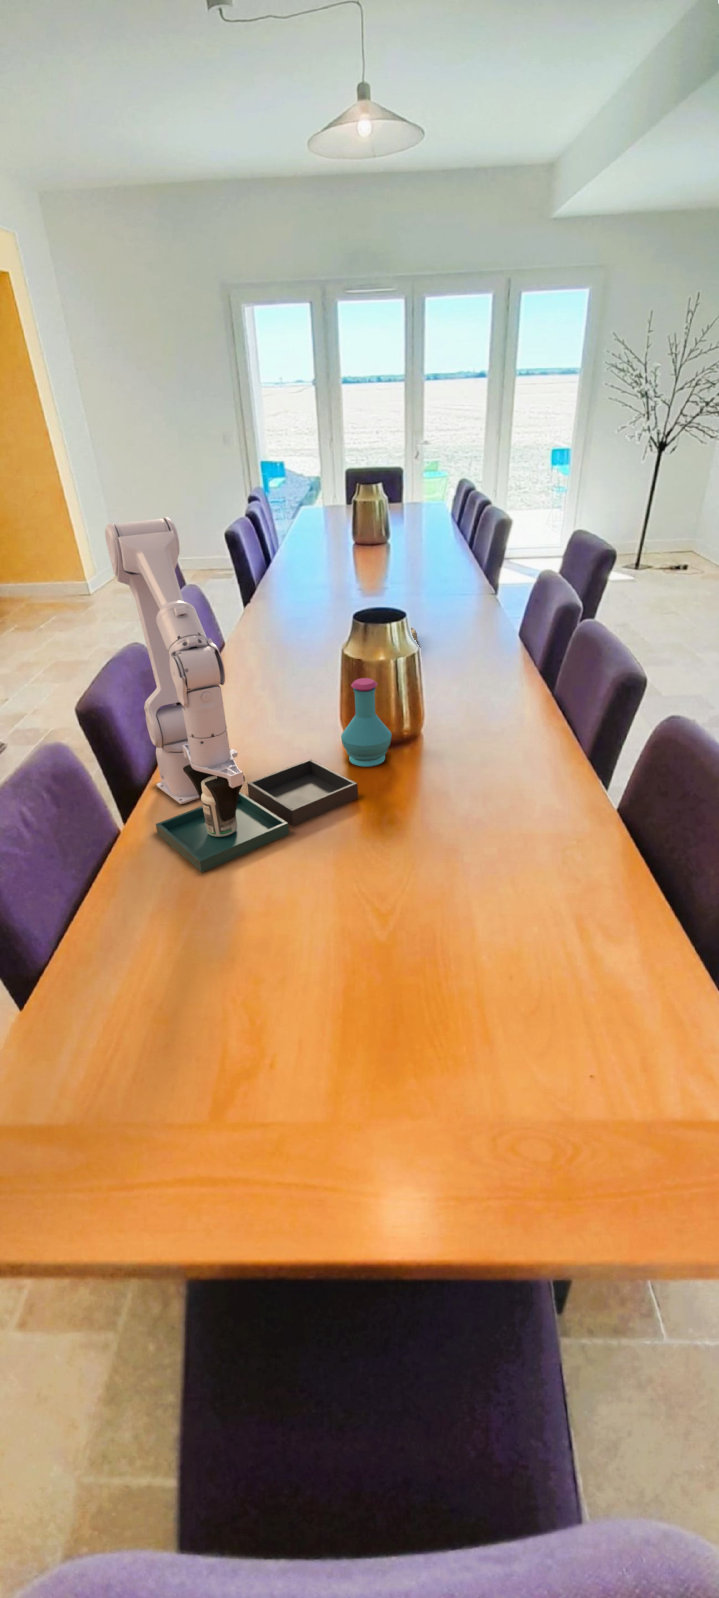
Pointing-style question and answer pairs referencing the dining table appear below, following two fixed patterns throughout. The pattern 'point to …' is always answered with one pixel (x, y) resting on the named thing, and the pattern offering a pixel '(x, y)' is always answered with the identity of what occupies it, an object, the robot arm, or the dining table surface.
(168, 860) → the dining table surface
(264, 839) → the tray
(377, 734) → the perfume bottle
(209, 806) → the pill bottle
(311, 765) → the bin
